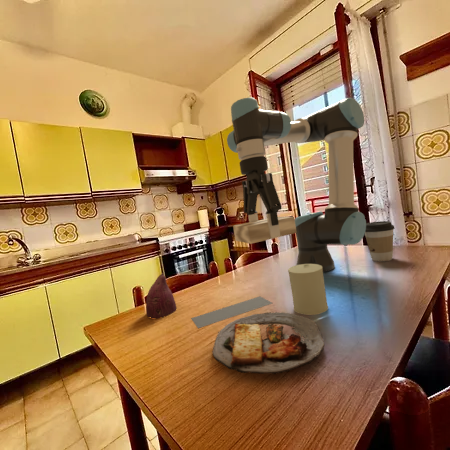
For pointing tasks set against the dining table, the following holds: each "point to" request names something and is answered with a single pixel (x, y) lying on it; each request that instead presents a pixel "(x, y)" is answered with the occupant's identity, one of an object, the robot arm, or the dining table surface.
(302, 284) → the can
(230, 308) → the mat
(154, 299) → the vegetable
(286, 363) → the food plate
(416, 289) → the dining table surface
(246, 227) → the beige wavy block
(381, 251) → the coffee cup
